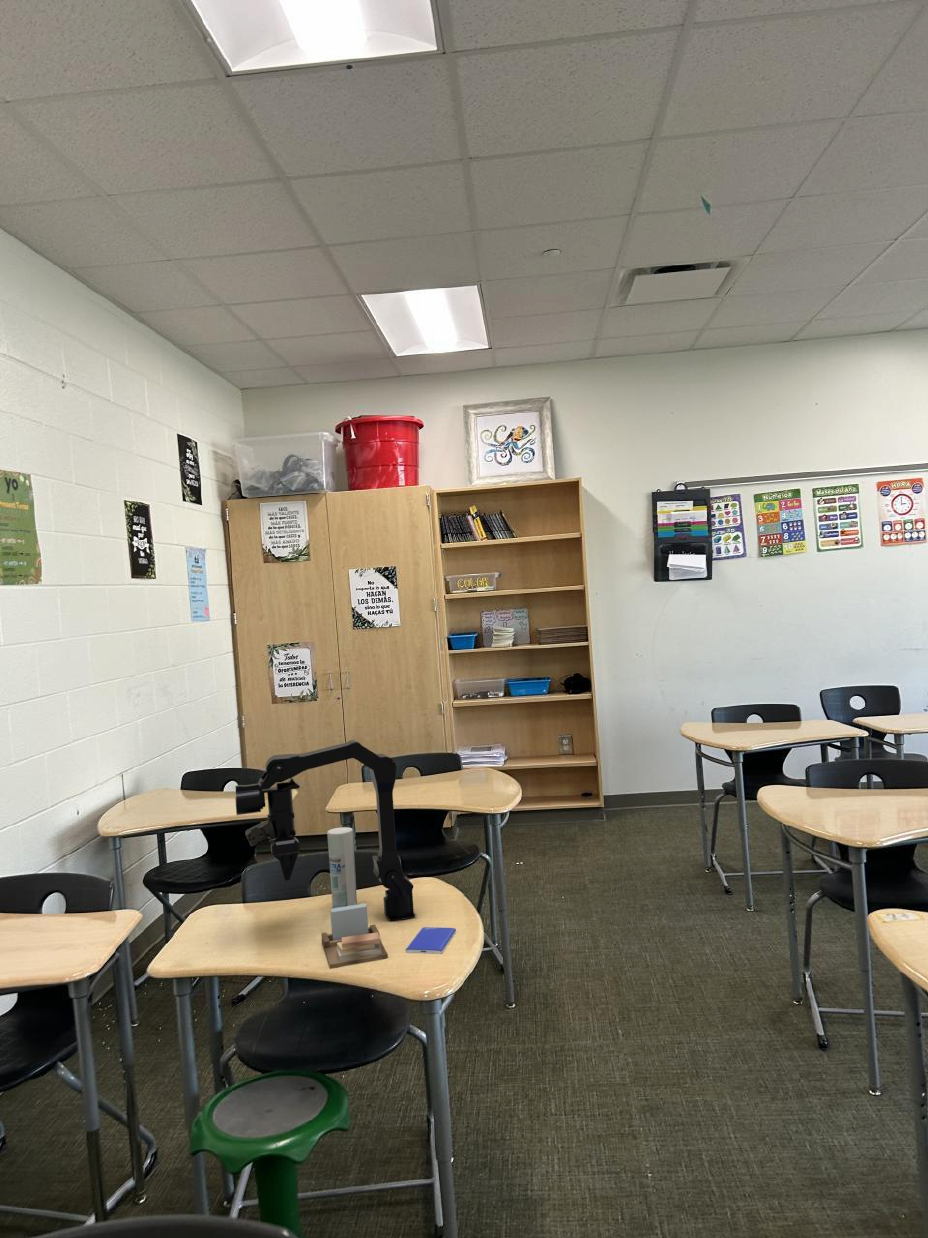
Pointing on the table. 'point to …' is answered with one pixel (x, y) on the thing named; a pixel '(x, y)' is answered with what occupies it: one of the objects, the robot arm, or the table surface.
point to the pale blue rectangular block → (349, 921)
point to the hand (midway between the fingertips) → (285, 875)
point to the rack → (333, 959)
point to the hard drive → (431, 940)
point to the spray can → (342, 867)
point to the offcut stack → (358, 946)
